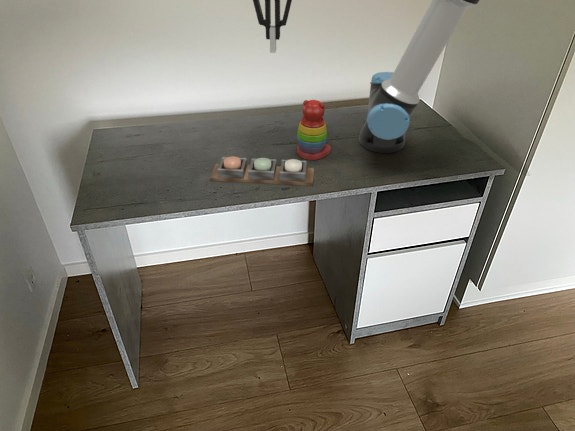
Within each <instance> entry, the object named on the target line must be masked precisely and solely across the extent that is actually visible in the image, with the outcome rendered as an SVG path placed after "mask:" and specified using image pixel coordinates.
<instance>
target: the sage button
mask: <svg viewBox="0 0 575 431" xmlns="http://www.w3.org/2000/svg"><path fill="white" fill-rule="evenodd" d="M255 159H256V160H255V161H254V170H259V171H271V160H270V159H271V158H268V157H258V158H255Z"/></svg>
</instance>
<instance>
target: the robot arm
mask: <svg viewBox="0 0 575 431" xmlns="http://www.w3.org/2000/svg"><path fill="white" fill-rule="evenodd" d="M271 1H272V0H264V14H263V10H262V5H261V3H260V2H261V1H260V0H252V2H253V6H254V9H255V13H256V18H257V21H258V25H260V26H263V27H265V39H266V40H269V52H270V53H272V54H275V53H276V52H277V41H279V40H280V38H281V27H285V26H286V24H287V22H288V19H289V14H290V10H291V6H292V0H286V1H285V2H286V4H285V6H284V7H285V8H284V11H283V12H284V13H283V15H282V16H283V17H282V19H281V0H274V25H271V24H272V16H271V15H272V14H271V12H272V11H271V10H272V9H271ZM479 2H480V0H431V1H430V3H429V5H428V8H427V9H426V11H425V13H424V15H423V16H422V19H421V20H420V22H419V25H418V26H417V28H416V30H415V32H414V33H413V36H412V37H411V40H409V43H408V45H407V46H406V49H405V50H404V53H403V55H402V56H401V58H400V60H399V62H398V63H397V65H396V68H394V69H395V70H394V71H381V72H376V73H374V74H373V75H372V76H371V79H370V80H371V81H370V84H369V85H370V89H369V98H368V106H367V113H366V120H365V122H364V124H363V126H362V128H361V130H360V132H359V134H358V135H359V137H358V142H359V145H361V146H362V148H364V149H366V150H368V151H371V152H374V153H380V154H381V153H382V154H389V153H390V154H391V153H392V154H393V153H396V152H398V151H399V152H400V151H401V150H403V148H405V143H406V132H407V130H408V129H409V127H410V124H411V117H412V114H413V113H414V111H415V109H416V108H417V106H418V104H419V103H420V97H419V96H420V95H419V92H420V90H421V88H422V87H423V85H424V83H425V81H426V80H427V78H429V77H428V76H429V74H431V71H432V70H433V68H434V66H435V64H436V63H437V61H438V60H439V58H440V56H441V55H442V52H443V51H444V50H445V47H446V46H447V44H448V42H449V40H450V38H452V35H453V34H454V32H455V31H456V29H457V27H458V25H459V23H460V22H461V20H462V19H463V16H464V15H465V13H466V12H467V10H468V9H471V8H473V7H475V6H478V4H479ZM264 18H265V19H264Z"/></svg>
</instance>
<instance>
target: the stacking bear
mask: <svg viewBox="0 0 575 431" xmlns="http://www.w3.org/2000/svg"><path fill="white" fill-rule="evenodd" d="M302 104H303V107H302V114H303V116H302V118H301V119H300V121H299V123H298V124H299V125H298V128H297V131H296V133H297V135H296V139H297V147H296V153H297V155H298V156H299V157H300V158H302V159H304V160H306V161H307V160H308V161H315V160H320V159H323V158H325V157H327V156H328V155H329V154H330V153H331V152H332V146H330V145H329V144H328V143H327V139H328V129H327V124H326V120H325V119H324V118H323V117H324V115H325V110H326V109H325V103H323V102H321V101H320V100H317V99H310V100H307V99H305V100H303V101H302ZM326 143H327V144H326Z"/></svg>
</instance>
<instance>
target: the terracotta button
mask: <svg viewBox="0 0 575 431" xmlns="http://www.w3.org/2000/svg"><path fill="white" fill-rule="evenodd" d="M226 157H227V158H225V159H224V169H238V170H241V160H240V158H241V157H238V156H232V155H231V156H226Z"/></svg>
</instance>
